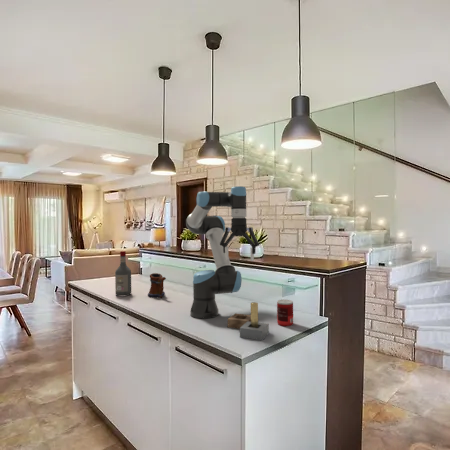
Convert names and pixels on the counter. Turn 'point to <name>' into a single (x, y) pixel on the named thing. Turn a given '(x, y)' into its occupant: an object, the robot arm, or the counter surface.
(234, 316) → the block
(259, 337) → the socket block
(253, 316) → the lock pin
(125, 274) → the liquor
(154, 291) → the mug
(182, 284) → the counter surface
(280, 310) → the canned food
